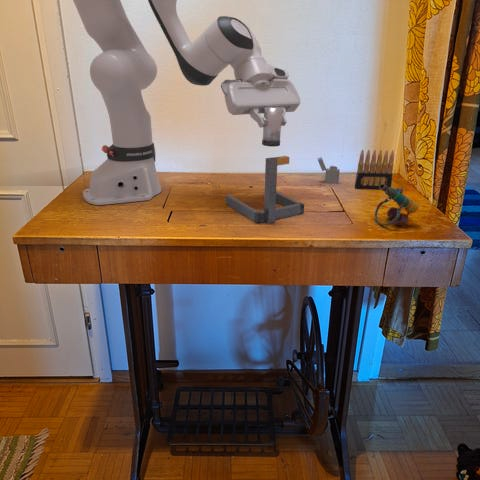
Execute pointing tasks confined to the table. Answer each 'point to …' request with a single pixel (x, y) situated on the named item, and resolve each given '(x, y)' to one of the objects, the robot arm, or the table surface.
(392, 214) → the binoculars
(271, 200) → the grey metal bar frame
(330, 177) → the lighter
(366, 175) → the ammunition clip
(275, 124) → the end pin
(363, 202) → the table surface
